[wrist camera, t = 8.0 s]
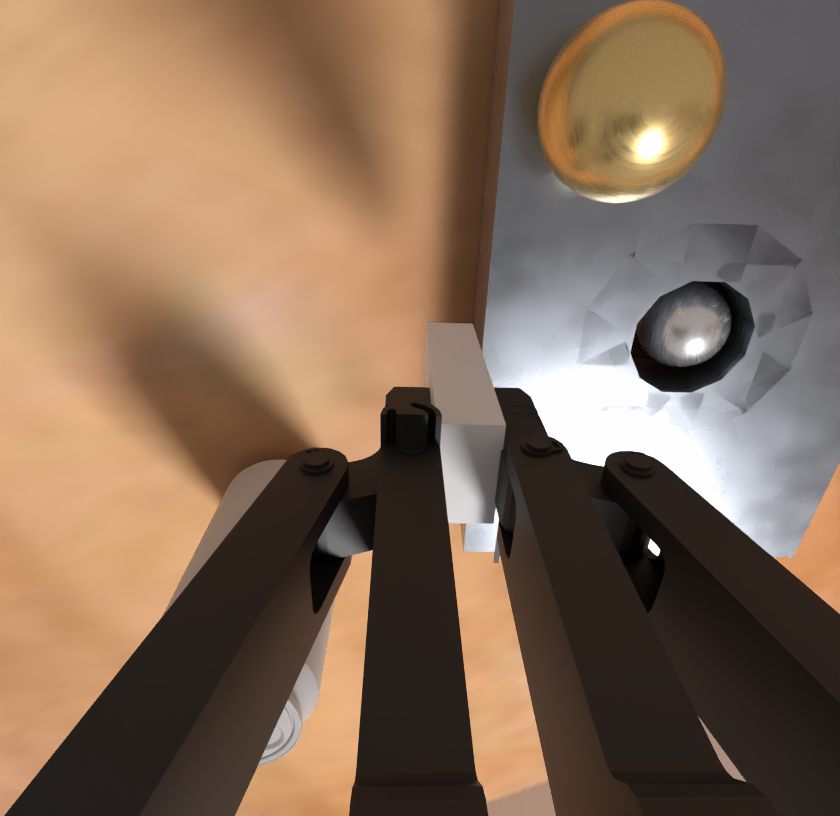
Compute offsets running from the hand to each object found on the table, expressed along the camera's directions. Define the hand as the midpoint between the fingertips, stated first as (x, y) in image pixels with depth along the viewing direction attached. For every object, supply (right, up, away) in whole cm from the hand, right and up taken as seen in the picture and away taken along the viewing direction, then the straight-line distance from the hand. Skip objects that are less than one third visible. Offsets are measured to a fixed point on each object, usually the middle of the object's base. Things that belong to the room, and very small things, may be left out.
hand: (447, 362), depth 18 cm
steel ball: (+10, +2, +4) cm, 11 cm away
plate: (+10, +3, +6) cm, 11 cm away
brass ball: (+5, +7, -3) cm, 9 cm away
